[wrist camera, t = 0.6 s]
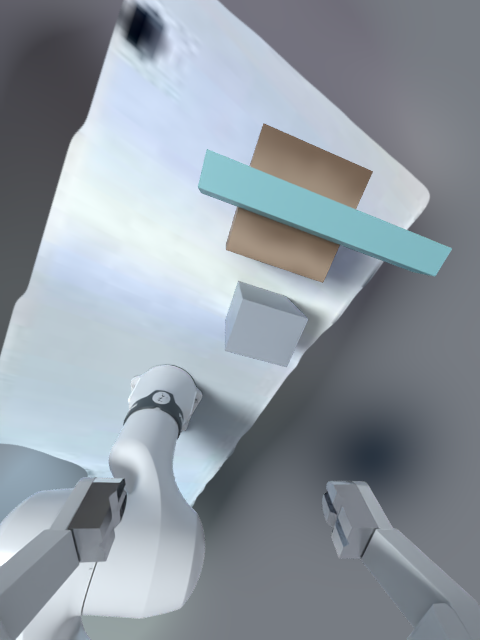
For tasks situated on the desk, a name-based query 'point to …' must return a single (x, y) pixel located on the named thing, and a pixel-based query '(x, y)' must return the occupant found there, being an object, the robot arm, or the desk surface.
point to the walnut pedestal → (309, 173)
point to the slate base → (263, 325)
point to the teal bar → (318, 215)
